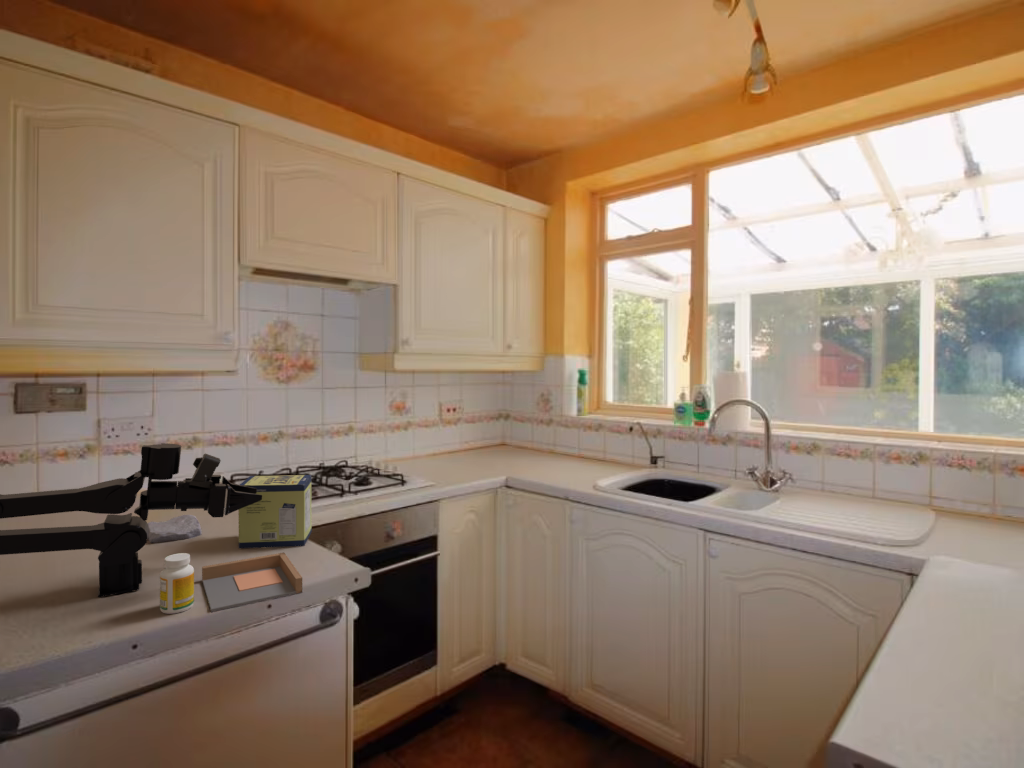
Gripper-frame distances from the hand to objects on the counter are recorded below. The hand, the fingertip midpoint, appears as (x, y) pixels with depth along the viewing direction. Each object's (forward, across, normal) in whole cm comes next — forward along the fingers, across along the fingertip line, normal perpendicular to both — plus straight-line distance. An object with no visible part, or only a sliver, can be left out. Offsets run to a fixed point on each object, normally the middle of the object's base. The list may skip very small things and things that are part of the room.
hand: (259, 494), depth 121 cm
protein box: (+7, +17, +15) cm, 24 cm away
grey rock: (-15, +32, +16) cm, 39 cm away
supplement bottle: (-14, -13, +19) cm, 27 cm away
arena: (-1, -9, +17) cm, 19 cm away
